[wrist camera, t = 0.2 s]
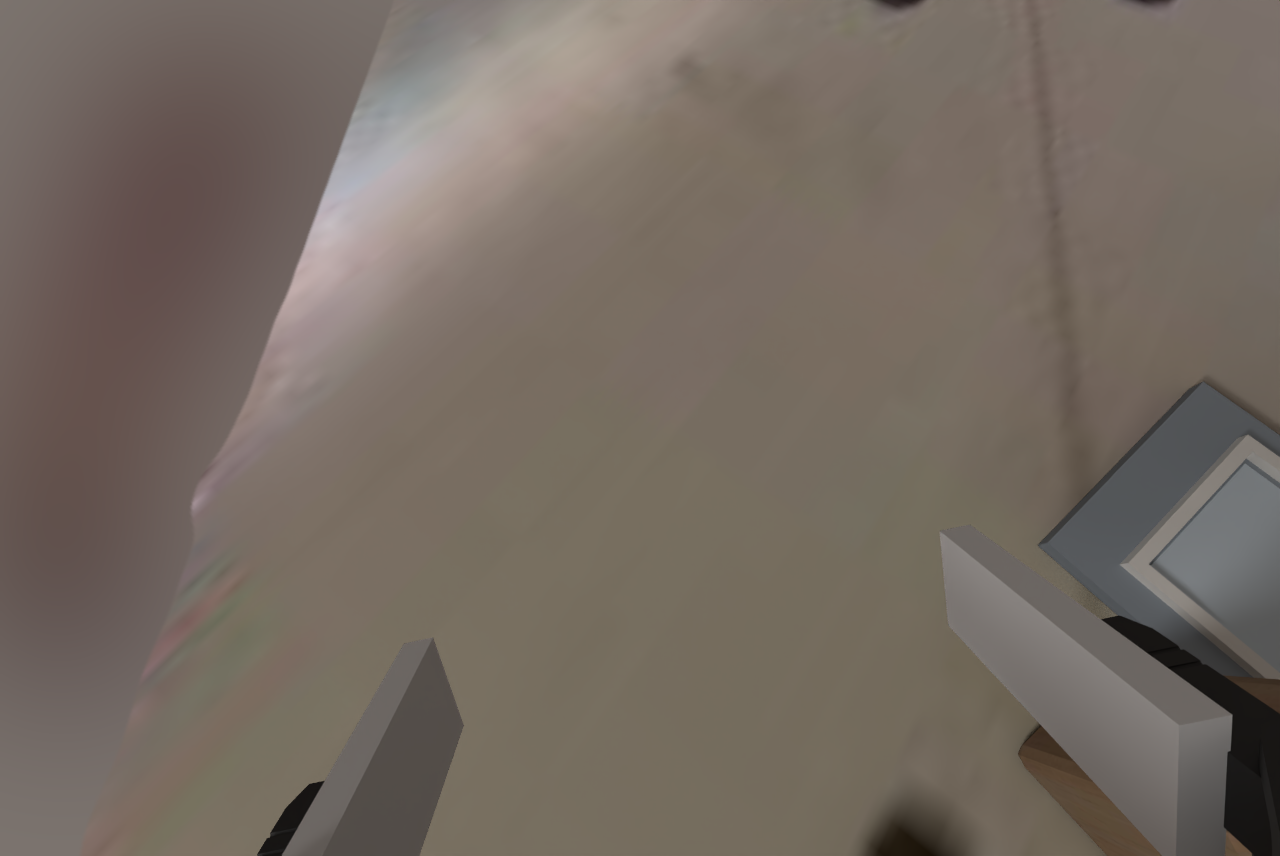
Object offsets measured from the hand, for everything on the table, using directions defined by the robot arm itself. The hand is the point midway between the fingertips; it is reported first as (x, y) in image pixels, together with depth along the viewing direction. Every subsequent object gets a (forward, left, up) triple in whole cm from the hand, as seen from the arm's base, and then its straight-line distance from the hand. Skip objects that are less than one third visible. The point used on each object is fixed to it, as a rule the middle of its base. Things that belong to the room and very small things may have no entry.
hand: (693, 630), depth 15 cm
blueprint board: (-25, -35, -36) cm, 56 cm away
